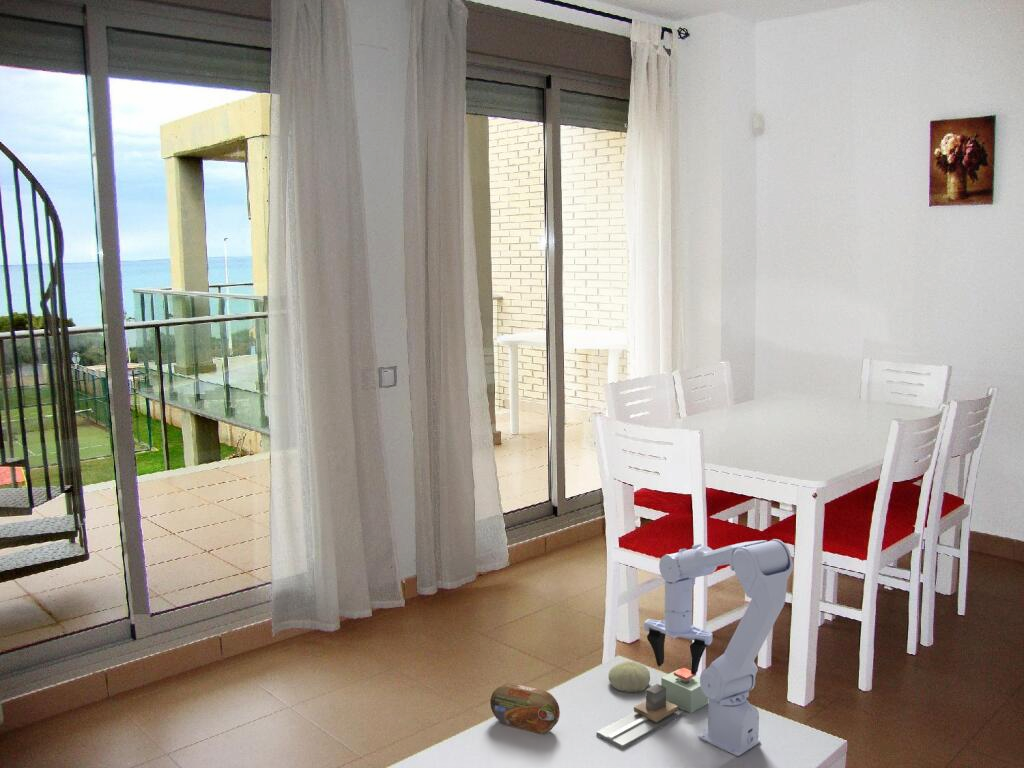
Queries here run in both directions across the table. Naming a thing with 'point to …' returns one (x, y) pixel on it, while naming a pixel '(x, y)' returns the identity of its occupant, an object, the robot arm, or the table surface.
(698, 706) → the pale green block
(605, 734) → the track
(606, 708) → the table surface
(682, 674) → the button
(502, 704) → the tin
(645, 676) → the sea urchin shell
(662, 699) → the carriage
